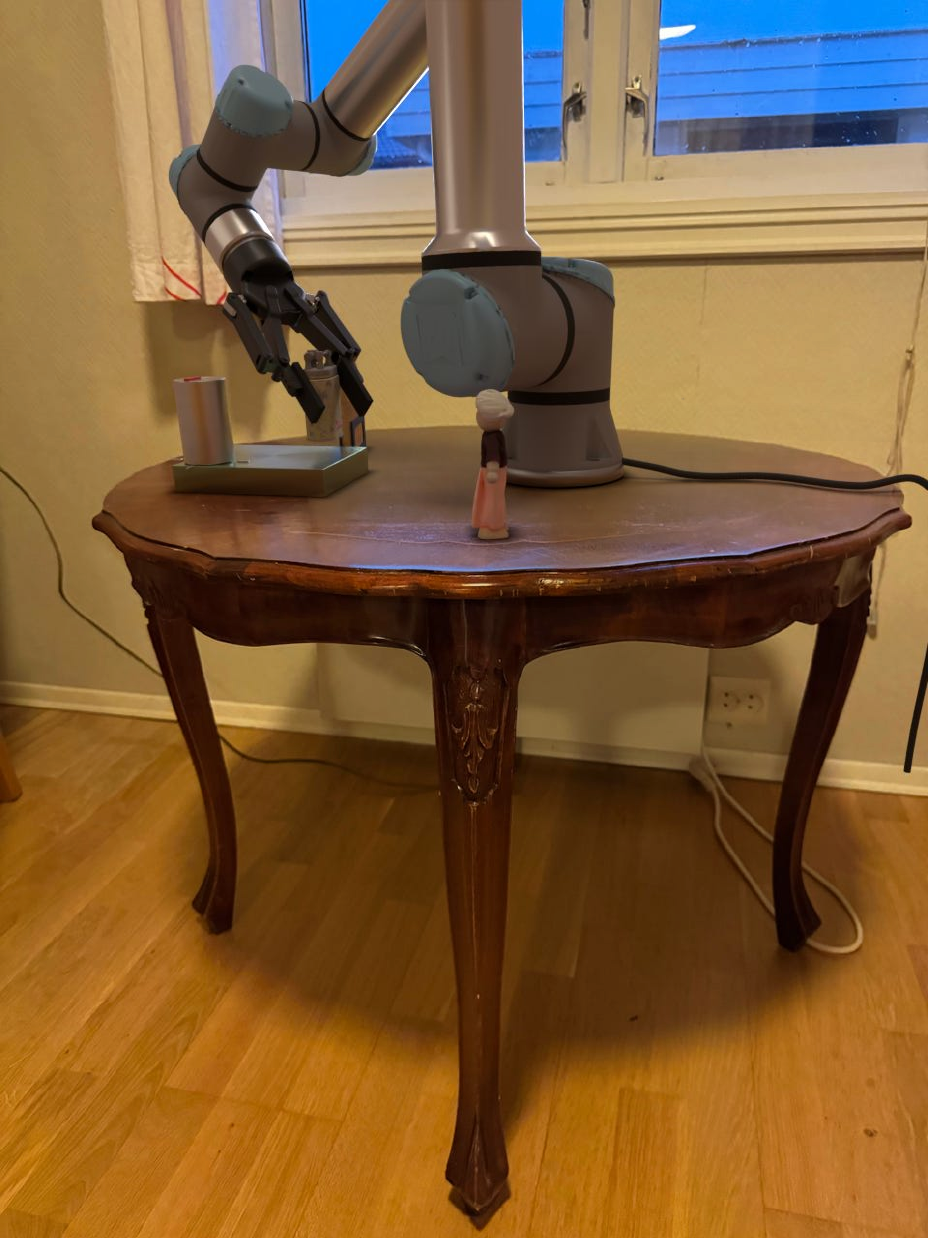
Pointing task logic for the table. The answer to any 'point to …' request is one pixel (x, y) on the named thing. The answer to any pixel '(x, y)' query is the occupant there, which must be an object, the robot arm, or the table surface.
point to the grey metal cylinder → (204, 420)
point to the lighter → (324, 397)
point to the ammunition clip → (351, 424)
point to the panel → (276, 471)
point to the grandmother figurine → (491, 466)
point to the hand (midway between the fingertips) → (342, 411)
